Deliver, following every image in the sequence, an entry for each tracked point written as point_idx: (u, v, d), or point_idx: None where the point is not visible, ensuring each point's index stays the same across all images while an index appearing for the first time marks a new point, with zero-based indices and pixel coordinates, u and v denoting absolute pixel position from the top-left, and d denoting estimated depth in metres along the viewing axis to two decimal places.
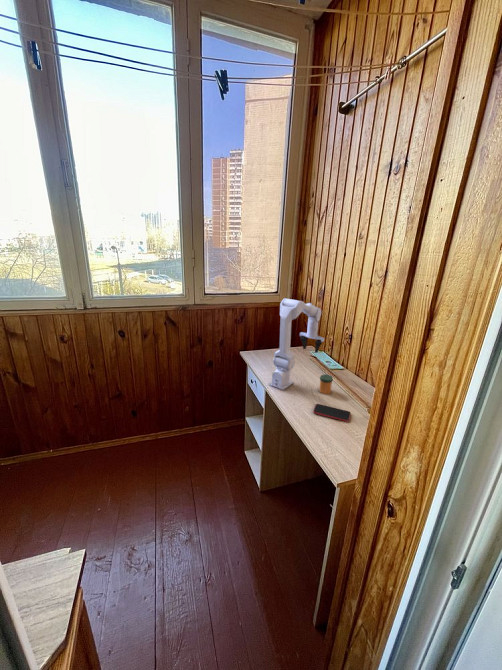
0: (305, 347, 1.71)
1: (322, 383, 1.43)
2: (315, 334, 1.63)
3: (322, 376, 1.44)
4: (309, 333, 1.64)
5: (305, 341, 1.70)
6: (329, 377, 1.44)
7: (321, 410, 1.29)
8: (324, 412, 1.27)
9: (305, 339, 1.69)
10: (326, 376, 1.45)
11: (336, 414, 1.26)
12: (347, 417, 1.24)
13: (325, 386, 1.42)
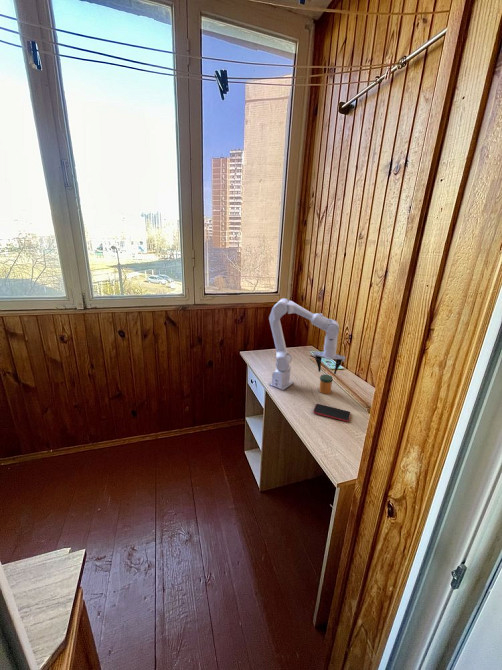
0: (334, 372, 1.41)
1: (322, 383, 1.43)
2: None
3: (322, 376, 1.44)
4: None
5: None
6: (329, 377, 1.44)
7: (321, 410, 1.29)
8: (324, 412, 1.27)
9: None
10: (326, 376, 1.45)
11: (336, 414, 1.26)
12: (347, 417, 1.24)
13: (325, 386, 1.42)
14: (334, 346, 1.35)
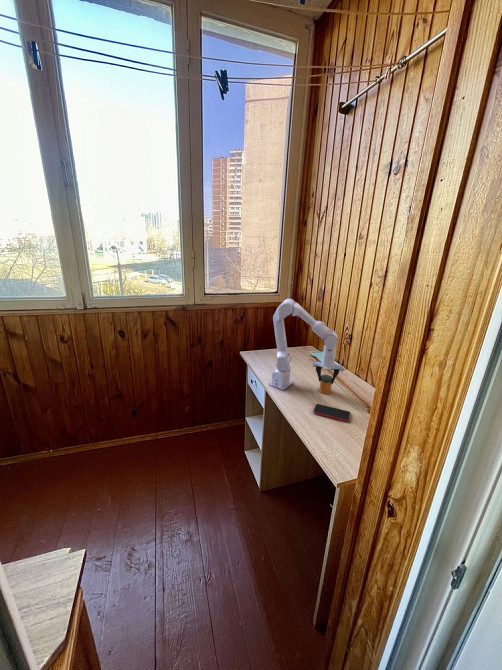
0: None
1: (322, 383, 1.43)
2: None
3: (322, 376, 1.44)
4: None
5: None
6: (329, 377, 1.44)
7: (321, 410, 1.29)
8: (324, 412, 1.27)
9: None
10: (326, 376, 1.44)
11: (336, 414, 1.26)
12: (347, 417, 1.24)
13: (325, 386, 1.42)
14: (333, 356, 1.37)
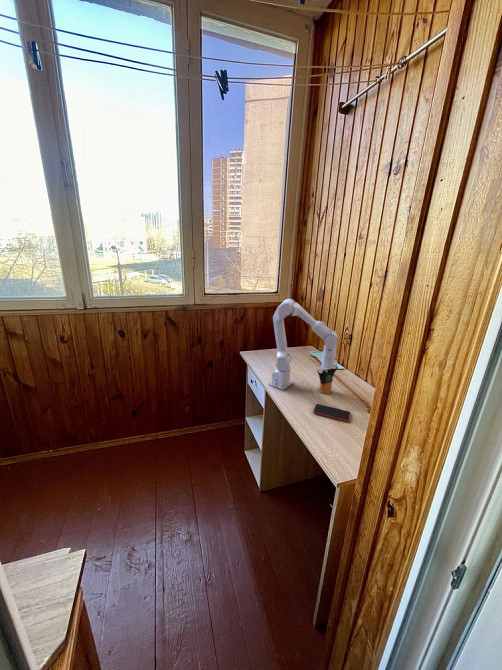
0: None
1: None
2: (323, 362, 1.40)
3: None
4: None
5: (330, 371, 1.45)
6: None
7: (321, 410, 1.29)
8: (324, 412, 1.27)
9: (330, 368, 1.45)
10: None
11: (336, 414, 1.26)
12: (347, 417, 1.24)
13: (326, 386, 1.42)
14: (333, 356, 1.37)
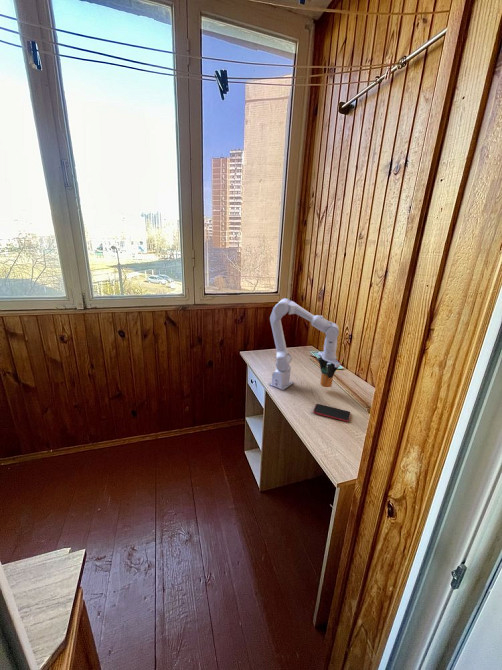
0: None
1: (324, 377, 1.41)
2: (330, 356, 1.37)
3: None
4: (324, 354, 1.39)
5: (324, 363, 1.44)
6: (325, 368, 1.43)
7: (321, 410, 1.29)
8: (324, 412, 1.27)
9: (324, 361, 1.44)
10: (326, 370, 1.42)
11: (336, 414, 1.26)
12: (347, 417, 1.24)
13: (328, 380, 1.41)
14: (334, 349, 1.36)
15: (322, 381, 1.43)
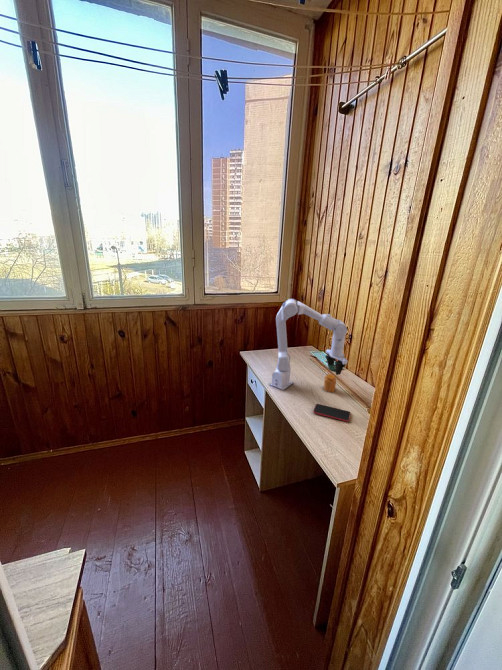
0: None
1: (327, 382, 1.44)
2: (338, 354, 1.40)
3: None
4: (331, 351, 1.42)
5: (331, 360, 1.47)
6: (332, 365, 1.46)
7: (321, 410, 1.29)
8: (324, 412, 1.27)
9: (331, 358, 1.47)
10: (333, 367, 1.45)
11: (336, 414, 1.26)
12: (347, 417, 1.24)
13: (331, 385, 1.44)
14: (342, 346, 1.39)
15: (325, 386, 1.46)
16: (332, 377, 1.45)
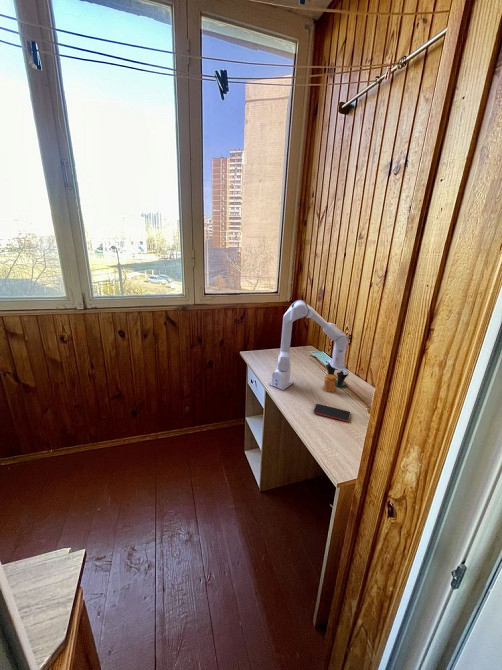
0: None
1: (327, 382, 1.44)
2: (339, 364, 1.43)
3: None
4: (333, 362, 1.45)
5: (332, 370, 1.51)
6: None
7: (321, 410, 1.29)
8: (324, 412, 1.27)
9: (332, 367, 1.50)
10: None
11: (336, 414, 1.26)
12: (347, 417, 1.24)
13: (331, 385, 1.44)
14: (343, 357, 1.42)
15: (325, 386, 1.46)
16: (332, 377, 1.45)
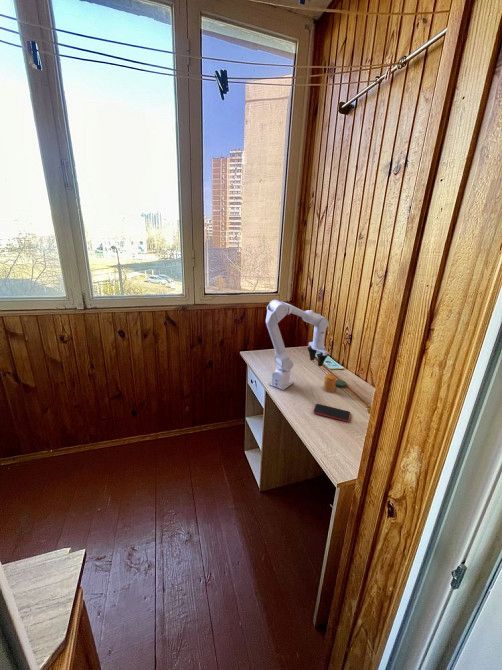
0: (313, 359, 1.58)
1: (327, 382, 1.44)
2: (319, 346, 1.49)
3: None
4: (313, 344, 1.50)
5: (313, 352, 1.57)
6: None
7: (321, 410, 1.29)
8: (324, 412, 1.27)
9: (313, 350, 1.56)
10: None
11: (336, 414, 1.26)
12: (347, 417, 1.24)
13: (331, 385, 1.44)
14: (324, 338, 1.49)
15: (325, 386, 1.46)
16: (332, 377, 1.45)
